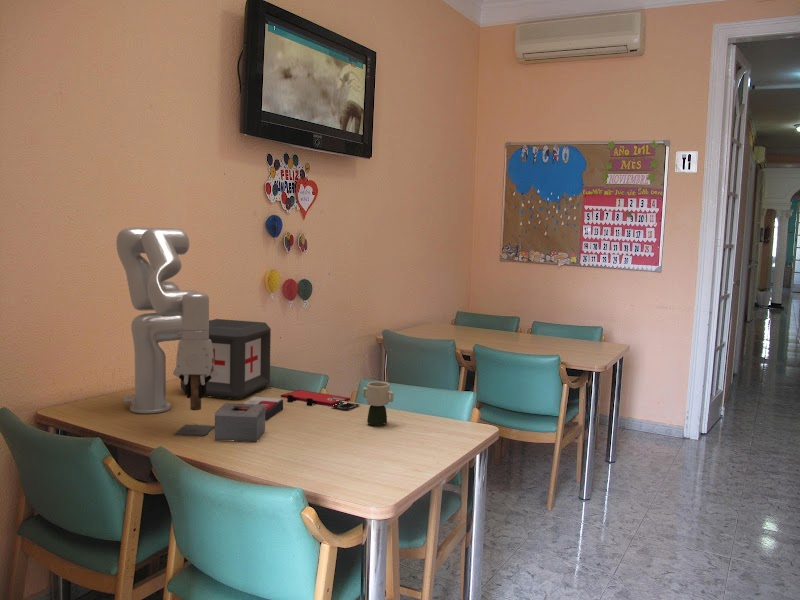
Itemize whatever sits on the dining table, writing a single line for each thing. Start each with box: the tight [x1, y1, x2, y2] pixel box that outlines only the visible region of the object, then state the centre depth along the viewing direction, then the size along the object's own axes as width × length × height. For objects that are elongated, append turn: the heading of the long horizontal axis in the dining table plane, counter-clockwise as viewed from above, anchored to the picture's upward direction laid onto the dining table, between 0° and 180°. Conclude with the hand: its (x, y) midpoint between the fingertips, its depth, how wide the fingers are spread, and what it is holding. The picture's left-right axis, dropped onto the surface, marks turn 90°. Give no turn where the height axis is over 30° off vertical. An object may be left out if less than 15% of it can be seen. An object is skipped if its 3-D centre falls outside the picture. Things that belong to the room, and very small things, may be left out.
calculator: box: [242, 396, 284, 422], centre depth 223 cm, size 11×4×15 cm
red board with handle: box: [280, 389, 361, 410], centre depth 241 cm, size 30×3×15 cm
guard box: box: [214, 402, 266, 443], centre depth 198 cm, size 12×11×8 cm
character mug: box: [362, 381, 394, 426], centre depth 214 cm, size 11×7×13 cm, turn 63°
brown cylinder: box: [189, 375, 202, 411], centre depth 200 cm, size 3×3×12 cm
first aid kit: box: [180, 318, 272, 400], centre depth 251 cm, size 25×25×25 cm
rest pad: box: [174, 424, 215, 437], centre depth 201 cm, size 9×9×1 cm
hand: (195, 396), depth 200 cm, fingers closed on brown cylinder, 3 cm apart
